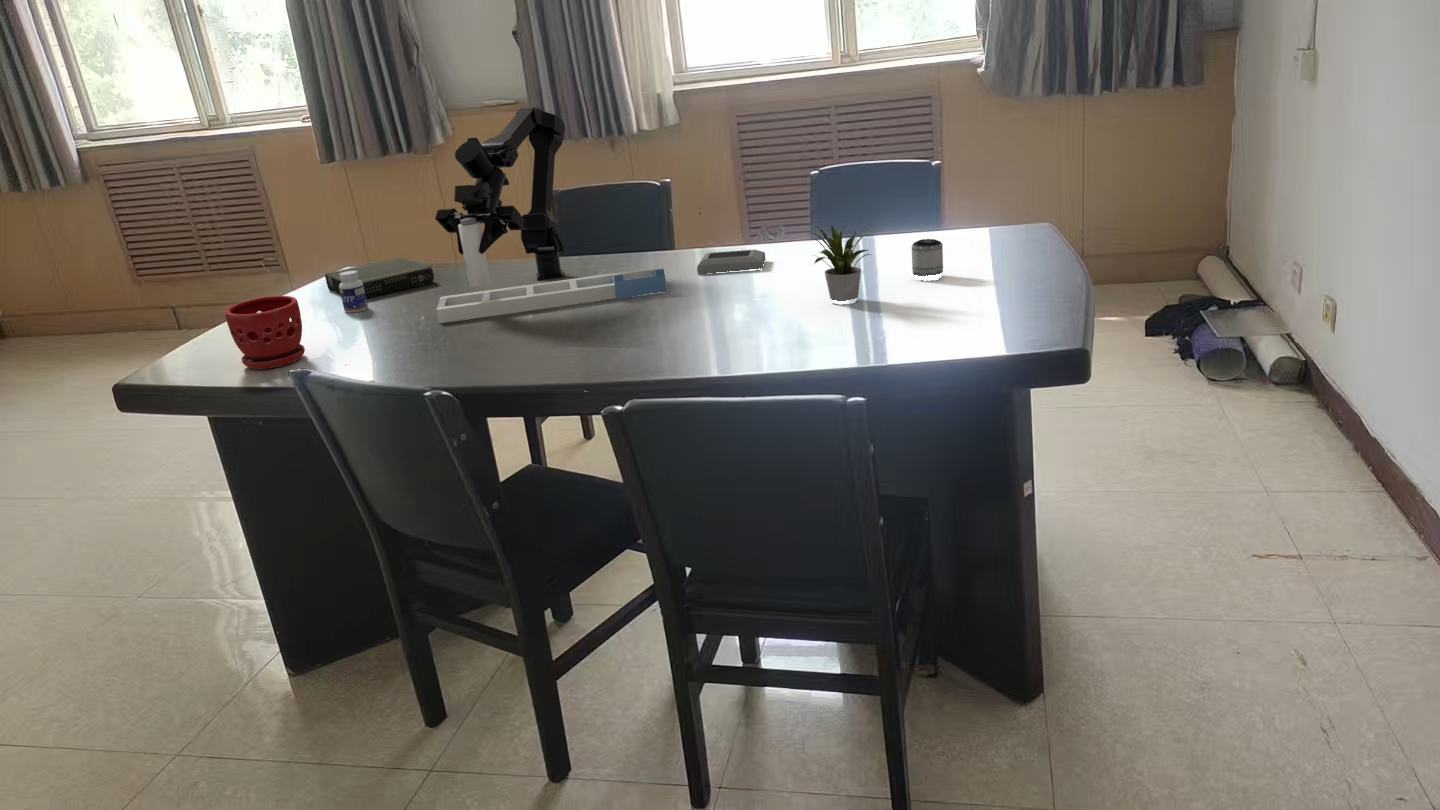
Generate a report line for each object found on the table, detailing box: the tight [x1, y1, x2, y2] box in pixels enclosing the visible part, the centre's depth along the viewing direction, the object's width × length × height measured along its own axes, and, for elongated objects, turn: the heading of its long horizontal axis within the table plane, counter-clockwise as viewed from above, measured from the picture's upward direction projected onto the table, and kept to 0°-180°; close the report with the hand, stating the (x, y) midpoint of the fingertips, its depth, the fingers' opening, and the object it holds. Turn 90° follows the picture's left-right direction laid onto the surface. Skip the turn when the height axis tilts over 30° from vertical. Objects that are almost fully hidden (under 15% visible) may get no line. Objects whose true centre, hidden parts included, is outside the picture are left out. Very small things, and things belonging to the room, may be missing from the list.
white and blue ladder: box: [436, 266, 668, 324], centre depth 222 cm, size 13×49×5 cm, turn 101°
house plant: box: [808, 219, 876, 301], centre depth 197 cm, size 14×14×16 cm
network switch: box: [324, 257, 435, 300], centre depth 255 cm, size 23×24×5 cm
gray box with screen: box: [696, 249, 766, 275], centre depth 236 cm, size 10×4×15 cm
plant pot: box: [224, 295, 306, 370], centre depth 196 cm, size 13×13×12 cm
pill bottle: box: [339, 271, 369, 314], centre depth 232 cm, size 5×5×9 cm
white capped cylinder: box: [458, 218, 491, 288], centre depth 215 cm, size 4×4×14 cm
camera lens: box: [911, 238, 944, 276], centre depth 209 cm, size 6×6×8 cm
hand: (470, 253), depth 214 cm, fingers closed on white capped cylinder, 4 cm apart
